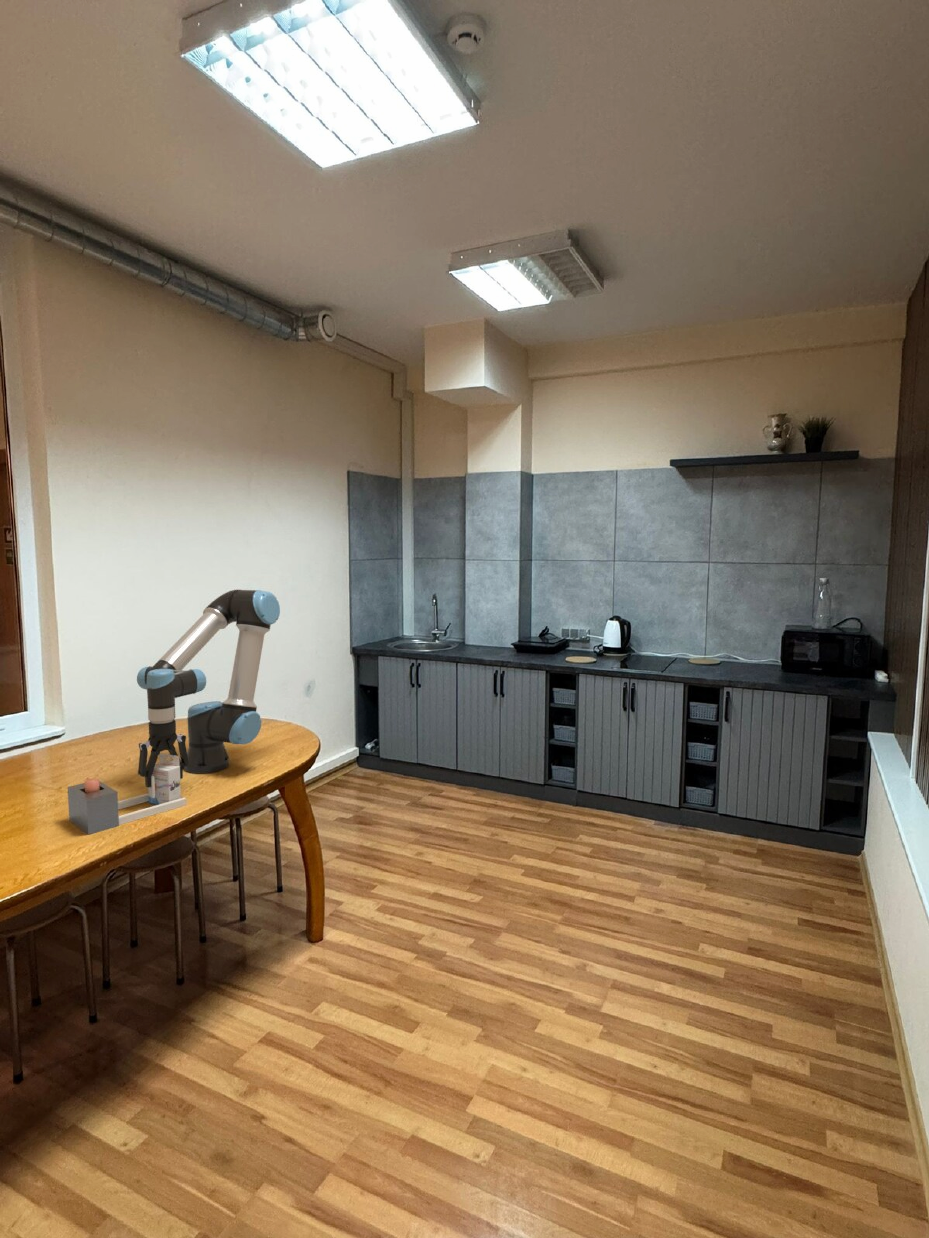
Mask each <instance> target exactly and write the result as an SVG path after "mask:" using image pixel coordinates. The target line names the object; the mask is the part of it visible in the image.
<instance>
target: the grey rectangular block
mask: <svg viewBox="0 0 929 1238" xmlns="http://www.w3.org/2000/svg"><path fill="white" fill-rule="evenodd" d="M99 789H100V791H96V792H92V793H88V794H86V793H85V782H83V783H78V784H74V785H70V786H67V801H68V803H67V804H68V805H67V806H68V816H69V817H68V818H69V820H68V821H69V822H71V823H72V824H73V825H74V826H76V827H77V828H78V829H80V830H81V831H82V832H84V833H86V834H87V835H88V836H89V835H93V834H97V833H99V832H103V831H105V830H106V831H107V830H109V829H112V828H116V827H119V826H120V825H119V816H120V815H119V810H118V801H119V800H118V799H119V798H118V795H119V794H118V791H117V790H115V789H114V788H112V787H111V786H109V785H107V784H105V782H102V781H100V780H99Z"/></svg>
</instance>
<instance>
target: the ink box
mask: <svg viewBox="0 0 929 1238" xmlns="http://www.w3.org/2000/svg"><path fill="white" fill-rule="evenodd" d="M179 756H180V755H178V756H175V755H174V756H173V755H170V753H162V752H160V754H159V755H158V757H159V758H158V759H159V762H156V764H155V767H154V770H153V773H152V776H154V778H155V798H152V797H150V796H149V801H148V803H149V804H153V805H155V806H156V805H159V804H163V803H166V802H170V801H173V800H177V799H180V798H182V790H181V789H182V786H181V785H182V784H181V779H180V766H179V759H180V757H179ZM168 758H169V759H168ZM172 759H173V760H172Z"/></svg>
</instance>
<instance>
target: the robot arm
mask: <svg viewBox="0 0 929 1238" xmlns="http://www.w3.org/2000/svg"><path fill="white" fill-rule="evenodd" d="M280 607H281V606H280V603H279V600H278V599H277V596H275V594H274V593H272V592H270V591H266V590H260V589H259V590H258V589H257V590H254V589H253V590H252V589H233V590H229V591H226V592H225V593H222V594H221V595H220V596H218V597H216V598H215V599H214V600H213V601H211V602H210V603H209V604H208V605H207V606H206V607H205V609H204V610H203V611H202V616H201V617H200V618H199V619H197V621H195V623H194V624H193V625H192V626H190V628H189V629H188V630H187V631H186V632H185V633H184V634H183V635H182V636H181V637H180V638H179V639H178V640H177V641H176V642H175V643H174V644H173V645H172V646H171V647H170V648H169V649H168V650H167V651H166V652H165V653H164V654H163V656H161V657H160V658H159V659H158V661H156V663H155V664H154V665H151V666H145V667H144V666H143V667H142V668H140V669H139V671H138V673H137V675H136V682H137V684H138V686H139V687H140V688H141V689H142V690H146V694H147V695H146V696H147V698H146V699H147V712H148V713H147V715H148V716H147V718H148V721H149V722H148V740H147V741H145V742H139V743H138V748H139V759H138V768H137V769H138V770H137V773H138V776H140V777H142V778H144V785H145V787H146V788H148V789H147V790H148V793H149V796H150V797H152V798H155V778H154V776H152V773H153V770H154V767H155V764H157V761H158V759H159V758H158V757H159V754H160V753H162V752H164V751H168V754H169V755H173V756H174V755H175V756H180V757H179V766H180V780H182V779H183V777H184V771H186V772H187V773H190V774H191V773H192V774H209V773H215V772H219V771H222V770H225V769H226V768H228V767H230V757H229V755H228V752H227V749H226V747H225V743H229V744H232V745H242V746H243V745H248V744H250V743H252V742H253V741H254V740H255V739H256V738H257V736H258V735H259V733H260V730H261V728H262V719H261V715H260V713H258V712H257V709H258V706H257V704H256V703H255V702H254V700H255V694H256V688H257V682H258V677H259V676H258V675H259V670H260V664H261V659H262V658H261V657H262V652H263V646H264V641H265V635H266V634H267V633H268V632H270V630H271V625H273V624H276V622H277V621H278V620H279V617H280V614H281V609H280ZM232 623H235V626H236V628H237V629H238V630H239V633H238V638H237V644H236V649H235V655H234V660H233V661H234V662H233V666H232V672H231V679H230V684H229V689H228V694H227V695H228V696H227V698H226V699H225V700H223V701H217V700H216V701H206V702H202V703H200V702H199V703H196V704H193V705H191V706H189V708H188V709H187V718H186V719H187V732H188V733H187V734H188V736H186V735H184V734H181V733H180V734H177V726H176V725H177V724H176V723H177V722H176V720H175V719H176V699H178V698H181V697H186V696H190V695H192V694H193V695H195V694H196V693H200V692H202V691H203V690H204V689H205V688H206V686H207V676H206V675H205V673H204V672H203V671H202V669H199V668H198V669H197V668H196V669H195V668H194V669H192V668H191V669H188V670H183V669H184V668H185V667H186V666H187V665H188V664H189V663H190V662H191V661H192V660H193V659H194V657H196V655H198V654H199V652H200V651H201V650H202V649H203V648H204V647H205V646H206V645H207V643H209V642H210V641H211V640H212V638H213V637H214V636H215V635H216V634H217V633H218V632H219V631H220V630H223V629H226V628H227V627H228V625H230V624H232ZM187 738H188V750H187V747H186V745H187V744H186V742H187V741H186V740H187ZM176 742H177V745H178V751H179V754H178V753H177V750H176V747H175V743H176ZM149 746H150V747H151V750H150V754H149V757H148V752H149V751H148V750H149ZM171 760H173V759H171ZM183 770H184V771H183Z"/></svg>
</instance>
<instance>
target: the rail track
mask: <svg viewBox="0 0 929 1238" xmlns="http://www.w3.org/2000/svg"><path fill="white" fill-rule="evenodd" d="M146 802H147V803H149V792H148V793H144V794H140V795H136V796H133V797H129V798H126V799H122V800H118V811H120V810H122V809H125V808H130V807H133V806H137V805H140V804H144V803H146ZM187 805H188V804H187V798H185V797H181V798H180V799H177V800H173V801H170V802H166V803H163V804H159V805H156V804H155V805H153V806H150V807H147V808H143V809H139V810H136V811H132V812H129V813H125V814H122V815H119V826H121V825H125V824H127V823H130V822H134V821H136V820H137V821H138V820H140V819H144V818H147V817H151V816H153V815H159V814H161V813H164V812H167V811H171V810H174V809H178V808H182V807H185V806H187Z"/></svg>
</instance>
